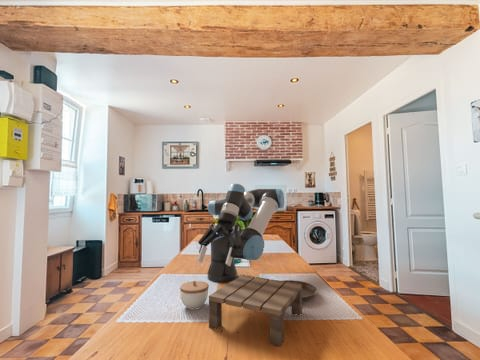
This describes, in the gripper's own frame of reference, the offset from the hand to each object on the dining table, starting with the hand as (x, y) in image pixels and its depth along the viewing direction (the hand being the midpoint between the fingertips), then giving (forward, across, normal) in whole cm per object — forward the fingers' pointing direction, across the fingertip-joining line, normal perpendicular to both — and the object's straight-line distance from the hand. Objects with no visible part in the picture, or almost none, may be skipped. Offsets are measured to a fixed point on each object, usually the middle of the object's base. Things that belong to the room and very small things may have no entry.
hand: (213, 263), depth 106 cm
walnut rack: (+15, +20, +7) cm, 26 cm away
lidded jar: (+16, -6, +4) cm, 17 cm away
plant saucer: (+1, +23, +29) cm, 37 cm away
